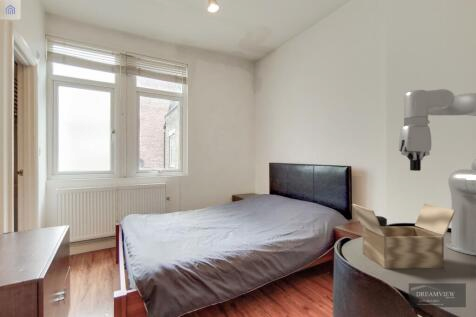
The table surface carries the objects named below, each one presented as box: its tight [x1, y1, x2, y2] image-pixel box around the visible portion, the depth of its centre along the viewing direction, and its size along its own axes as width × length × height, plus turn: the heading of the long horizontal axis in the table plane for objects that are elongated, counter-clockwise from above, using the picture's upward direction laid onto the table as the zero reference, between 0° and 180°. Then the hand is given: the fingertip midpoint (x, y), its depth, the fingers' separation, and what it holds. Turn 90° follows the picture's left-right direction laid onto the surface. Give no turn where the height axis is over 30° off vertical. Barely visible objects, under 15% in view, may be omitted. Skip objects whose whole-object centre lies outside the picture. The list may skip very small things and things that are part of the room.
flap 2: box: [414, 203, 455, 237], centre depth 84 cm, size 9×12×1 cm
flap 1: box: [351, 203, 385, 236], centre depth 82 cm, size 9×12×1 cm
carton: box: [362, 226, 445, 270], centre depth 83 cm, size 20×12×10 cm, turn 94°
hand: (415, 170), depth 92 cm, fingers closed
